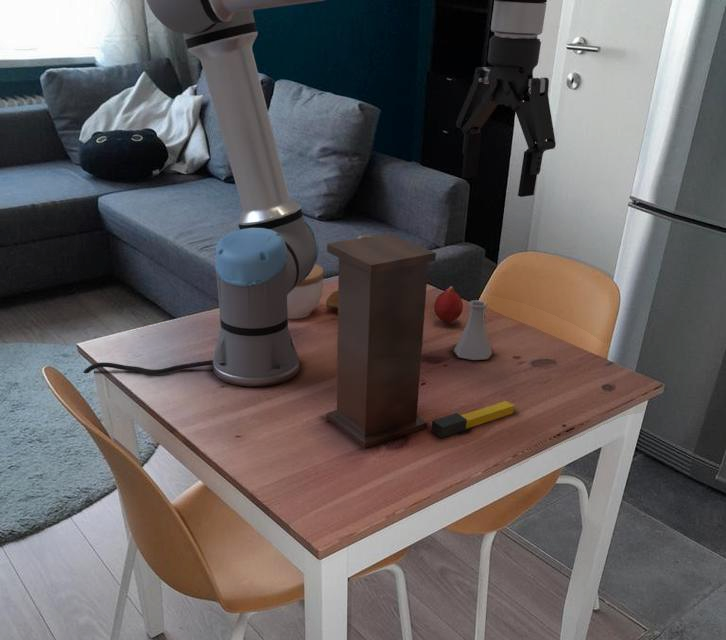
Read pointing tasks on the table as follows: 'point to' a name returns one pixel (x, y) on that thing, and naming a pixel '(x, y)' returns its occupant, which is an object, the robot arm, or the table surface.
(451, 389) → the table surface
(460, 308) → the pomegranate
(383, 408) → the pedestal stand
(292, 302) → the lidded bowl
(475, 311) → the flask
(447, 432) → the highlighter
